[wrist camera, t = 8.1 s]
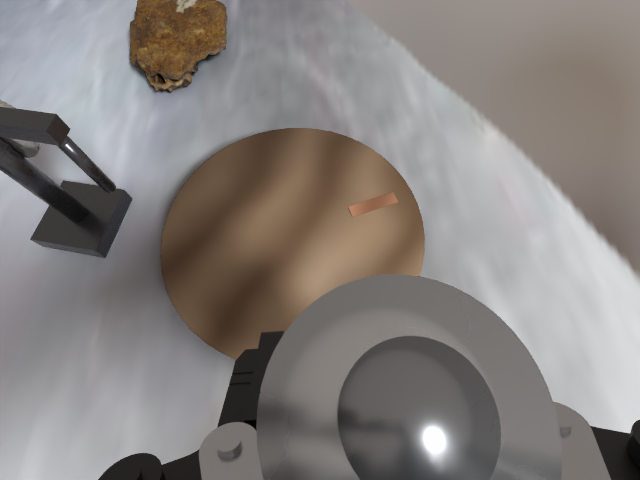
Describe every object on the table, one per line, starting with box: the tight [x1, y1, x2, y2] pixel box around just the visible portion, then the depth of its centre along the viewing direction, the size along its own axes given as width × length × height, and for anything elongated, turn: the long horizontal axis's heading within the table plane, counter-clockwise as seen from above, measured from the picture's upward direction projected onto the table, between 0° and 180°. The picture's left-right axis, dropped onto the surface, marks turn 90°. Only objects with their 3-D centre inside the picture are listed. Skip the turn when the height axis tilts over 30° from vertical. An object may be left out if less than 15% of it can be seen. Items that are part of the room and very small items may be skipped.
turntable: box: [161, 128, 425, 360], centre depth 30 cm, size 21×21×2 cm
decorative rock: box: [129, 0, 227, 92], centre depth 41 cm, size 11×4×15 cm
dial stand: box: [0, 100, 132, 257], centre depth 27 cm, size 10×6×14 cm, turn 79°
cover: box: [256, 274, 562, 480], centre depth 11 cm, size 7×7×11 cm
